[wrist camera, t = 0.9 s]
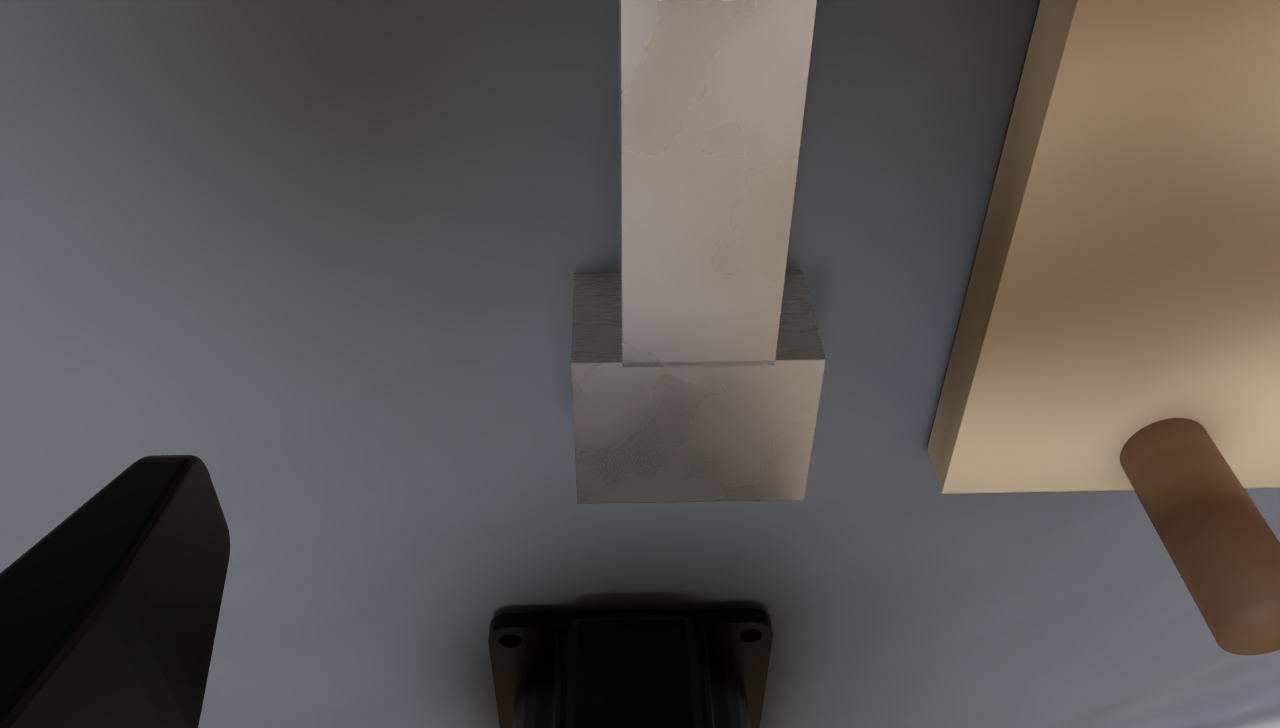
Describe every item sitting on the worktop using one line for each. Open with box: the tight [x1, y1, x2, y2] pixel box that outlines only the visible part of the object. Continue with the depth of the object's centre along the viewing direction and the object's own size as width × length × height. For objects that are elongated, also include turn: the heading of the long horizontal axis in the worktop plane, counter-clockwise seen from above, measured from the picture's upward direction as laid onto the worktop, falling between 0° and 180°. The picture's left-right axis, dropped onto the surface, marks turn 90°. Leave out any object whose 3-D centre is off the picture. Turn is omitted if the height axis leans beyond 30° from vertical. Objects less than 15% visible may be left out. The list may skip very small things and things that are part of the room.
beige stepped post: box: [571, 0, 826, 504], centre depth 14 cm, size 16×4×2 cm, turn 0°
